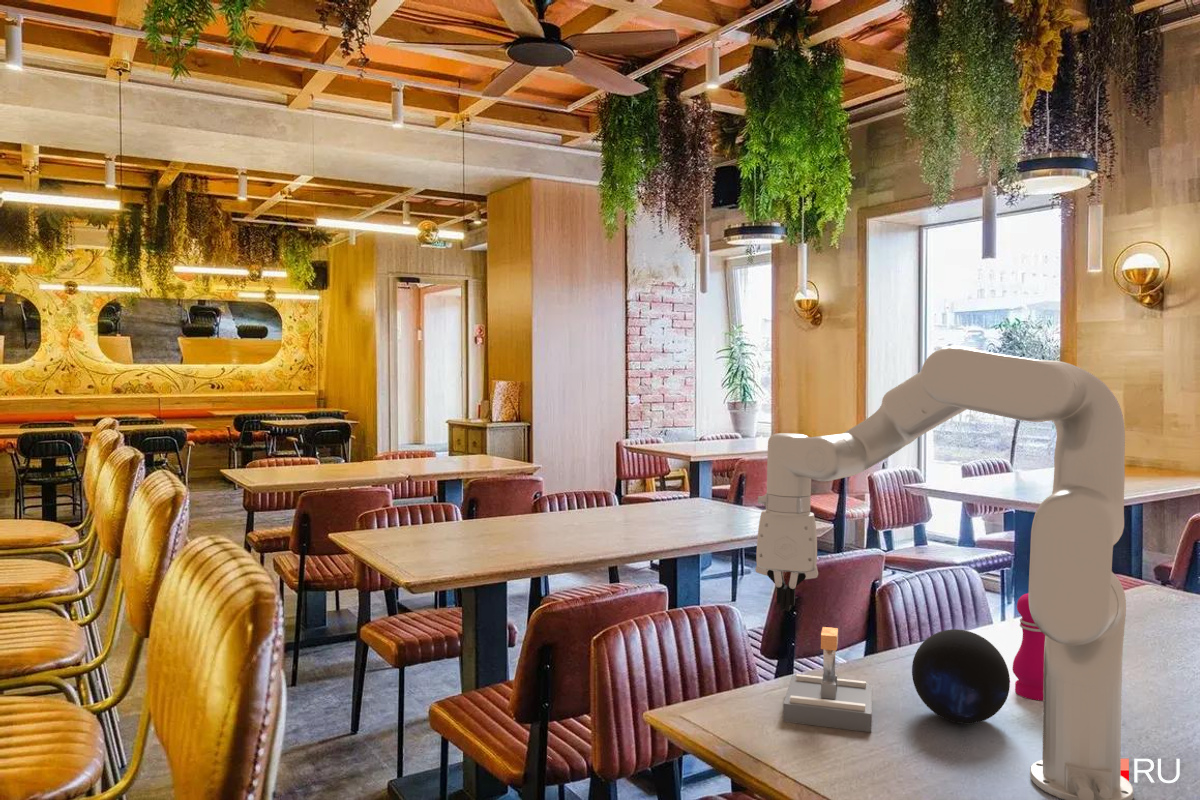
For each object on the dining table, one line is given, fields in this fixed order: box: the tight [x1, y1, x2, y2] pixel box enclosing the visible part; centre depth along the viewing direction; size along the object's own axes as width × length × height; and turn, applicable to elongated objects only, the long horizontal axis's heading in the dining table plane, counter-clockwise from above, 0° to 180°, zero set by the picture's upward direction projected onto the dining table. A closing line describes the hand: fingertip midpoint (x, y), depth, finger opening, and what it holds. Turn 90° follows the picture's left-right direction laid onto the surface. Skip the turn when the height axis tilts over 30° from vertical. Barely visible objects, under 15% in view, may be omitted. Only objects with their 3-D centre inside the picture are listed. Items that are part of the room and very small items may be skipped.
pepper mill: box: [1012, 592, 1045, 702], centre depth 153 cm, size 7×7×20 cm
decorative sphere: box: [911, 628, 1011, 725], centre depth 142 cm, size 15×15×15 cm
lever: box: [820, 626, 839, 683], centre depth 145 cm, size 5×3×10 cm, turn 162°
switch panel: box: [782, 673, 873, 733], centre depth 146 cm, size 14×14×6 cm
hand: (785, 608), depth 148 cm, fingers closed
